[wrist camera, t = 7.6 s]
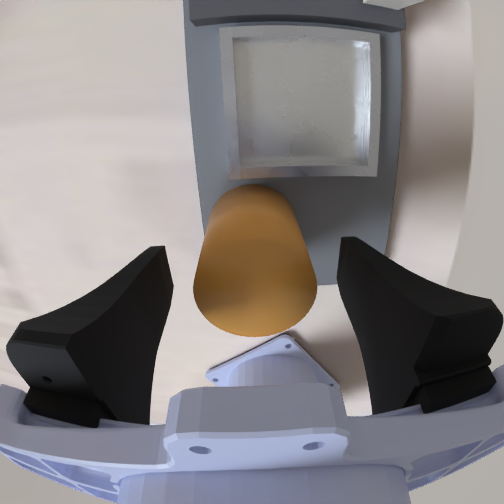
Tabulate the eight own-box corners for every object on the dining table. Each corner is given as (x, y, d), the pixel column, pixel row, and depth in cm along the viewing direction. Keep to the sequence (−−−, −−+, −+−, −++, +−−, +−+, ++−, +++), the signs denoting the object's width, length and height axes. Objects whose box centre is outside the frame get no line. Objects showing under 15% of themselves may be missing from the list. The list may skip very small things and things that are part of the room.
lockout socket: (369, 170, 14) (376, 176, 13) (230, 173, 14) (229, 179, 13) (371, 36, 11) (379, 33, 10) (221, 31, 11) (219, 27, 10)
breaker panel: (371, 267, 19) (387, 296, 16) (214, 276, 19) (210, 308, 16) (378, -45, 9) (401, -63, 6) (187, -52, 9) (175, -76, 6)
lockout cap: (312, 233, 16) (338, 300, 11) (244, 276, 17) (244, 351, 12) (261, 166, 14) (270, 212, 9) (191, 218, 15) (167, 284, 11)
